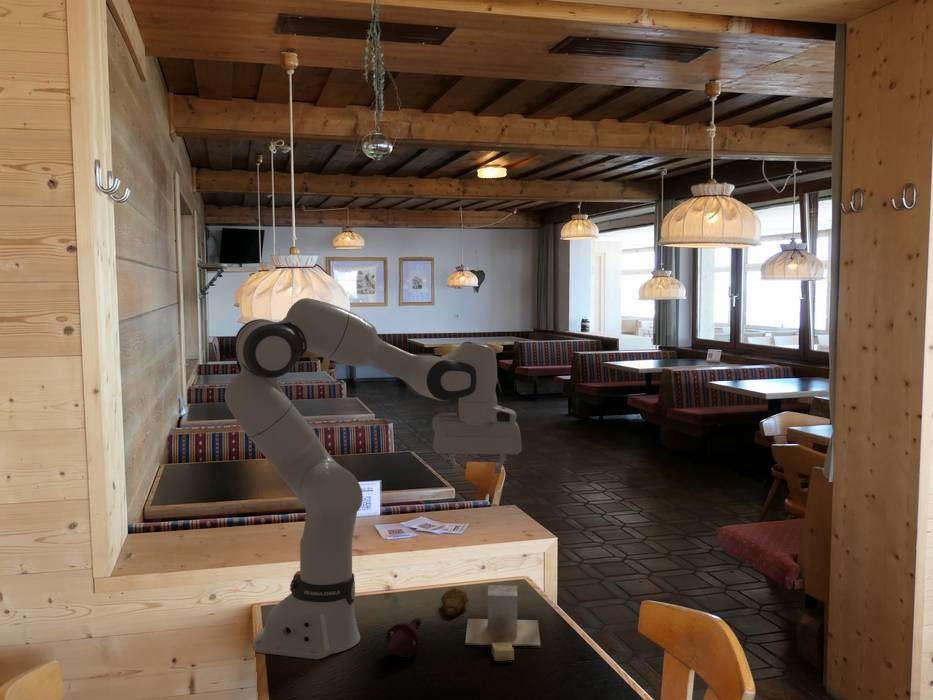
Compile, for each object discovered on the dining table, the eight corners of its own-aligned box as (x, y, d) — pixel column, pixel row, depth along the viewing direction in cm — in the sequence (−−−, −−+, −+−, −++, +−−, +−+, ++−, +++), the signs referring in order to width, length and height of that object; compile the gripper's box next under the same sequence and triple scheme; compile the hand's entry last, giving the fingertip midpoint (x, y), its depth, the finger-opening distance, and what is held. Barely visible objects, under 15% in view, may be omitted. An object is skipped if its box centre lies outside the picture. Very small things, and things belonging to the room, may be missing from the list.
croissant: (465, 620, 183) (465, 599, 183) (436, 618, 184) (436, 597, 184) (471, 598, 197) (472, 578, 196) (444, 597, 198) (444, 577, 197)
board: (465, 645, 169) (465, 643, 169) (467, 621, 182) (467, 618, 182) (540, 647, 169) (540, 644, 169) (537, 622, 182) (537, 620, 182)
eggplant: (408, 643, 156) (437, 621, 170) (376, 628, 158) (406, 607, 172) (399, 676, 156) (428, 651, 170) (366, 660, 159) (398, 637, 173)
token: (494, 663, 162) (494, 651, 162) (491, 654, 166) (491, 642, 166) (513, 662, 162) (514, 650, 162) (510, 653, 166) (510, 642, 166)
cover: (487, 636, 173) (487, 595, 172) (488, 624, 179) (488, 585, 179) (517, 636, 173) (517, 596, 172) (516, 624, 179) (516, 585, 178)
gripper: (431, 414, 179) (431, 475, 179) (522, 415, 178) (521, 476, 179) (433, 410, 185) (433, 469, 186) (521, 411, 184) (521, 470, 185)
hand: (477, 472), depth 182 cm, fingers open, 8 cm apart
